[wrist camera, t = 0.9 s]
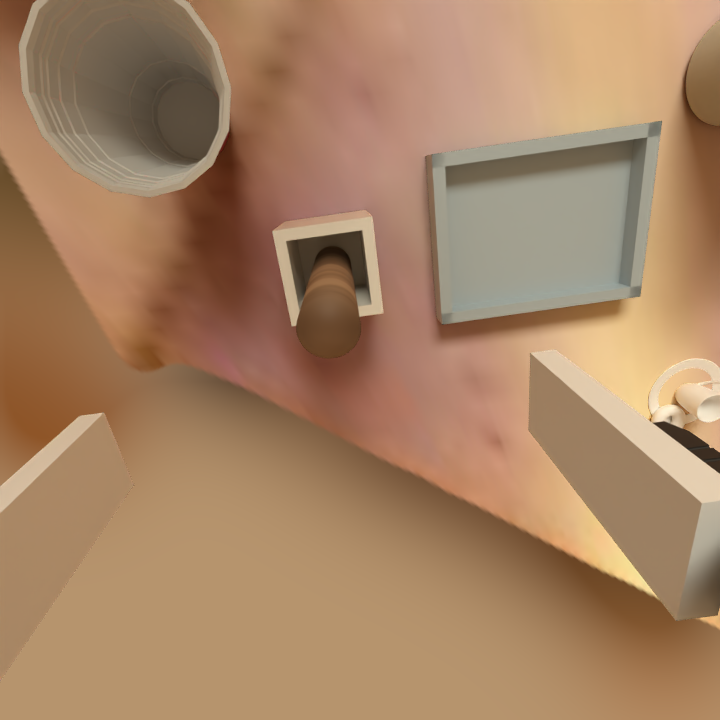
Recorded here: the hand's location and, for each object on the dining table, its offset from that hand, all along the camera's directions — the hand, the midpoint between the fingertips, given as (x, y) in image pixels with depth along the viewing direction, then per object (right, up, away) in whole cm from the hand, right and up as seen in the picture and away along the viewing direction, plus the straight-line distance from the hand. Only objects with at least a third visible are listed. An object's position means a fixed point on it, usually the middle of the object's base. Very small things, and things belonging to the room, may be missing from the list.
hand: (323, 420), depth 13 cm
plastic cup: (-12, +21, +21) cm, 32 cm away
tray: (+16, +14, +25) cm, 33 cm away
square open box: (-1, +11, +25) cm, 27 cm away
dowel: (-1, +10, +24) cm, 27 cm away
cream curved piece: (+33, -1, +33) cm, 46 cm away
